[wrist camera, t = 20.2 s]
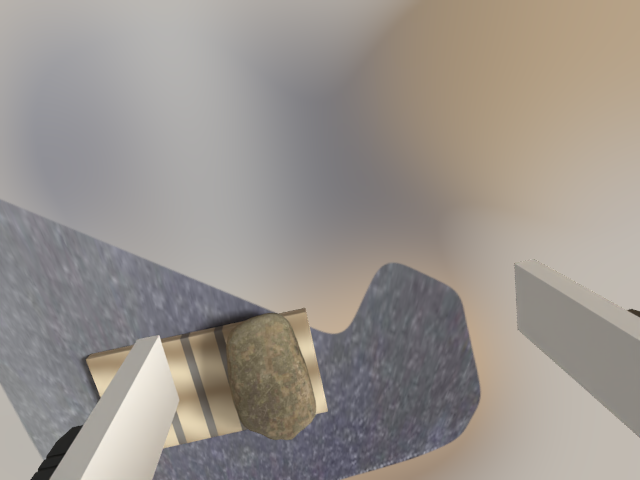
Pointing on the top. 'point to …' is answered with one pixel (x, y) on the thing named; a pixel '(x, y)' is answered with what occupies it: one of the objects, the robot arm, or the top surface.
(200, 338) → the board
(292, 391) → the stone
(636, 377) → the robot arm
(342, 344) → the top surface
